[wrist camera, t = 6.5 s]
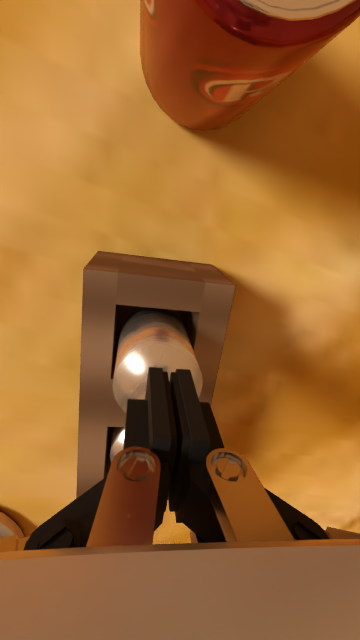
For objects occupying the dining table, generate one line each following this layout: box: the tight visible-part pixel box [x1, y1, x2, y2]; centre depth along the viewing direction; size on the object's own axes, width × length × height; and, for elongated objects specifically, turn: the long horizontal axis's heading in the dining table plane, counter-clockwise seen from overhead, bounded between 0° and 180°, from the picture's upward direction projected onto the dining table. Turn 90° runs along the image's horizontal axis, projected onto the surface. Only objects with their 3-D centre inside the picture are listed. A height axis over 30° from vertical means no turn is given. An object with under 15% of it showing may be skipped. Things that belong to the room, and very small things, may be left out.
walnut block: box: [76, 251, 235, 499], centre depth 21 cm, size 16×8×6 cm, turn 172°
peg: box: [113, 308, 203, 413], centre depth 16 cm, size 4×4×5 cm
